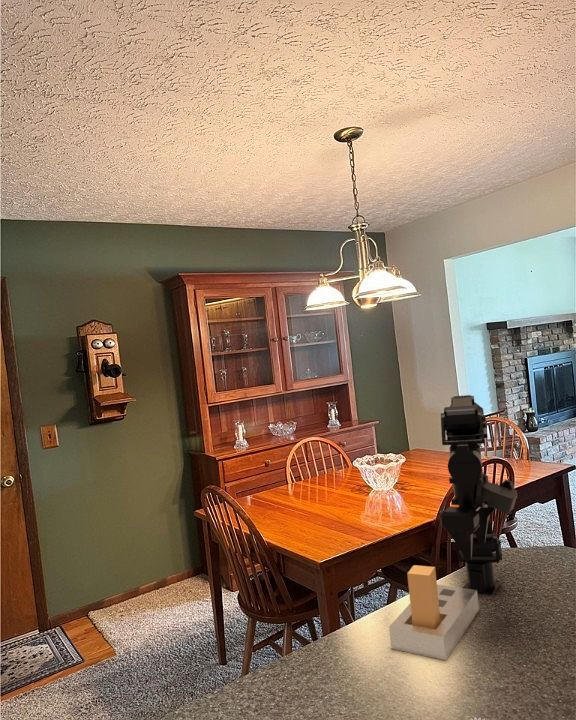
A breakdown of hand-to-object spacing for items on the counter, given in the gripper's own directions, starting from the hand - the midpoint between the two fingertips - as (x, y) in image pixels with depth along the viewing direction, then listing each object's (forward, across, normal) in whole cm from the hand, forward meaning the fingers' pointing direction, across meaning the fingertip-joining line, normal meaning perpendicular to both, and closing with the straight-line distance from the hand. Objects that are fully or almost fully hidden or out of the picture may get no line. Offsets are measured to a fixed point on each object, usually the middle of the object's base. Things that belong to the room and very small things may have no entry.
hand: (475, 551), depth 110 cm
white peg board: (+13, -7, +6) cm, 16 cm away
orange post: (+13, -12, +6) cm, 19 cm away
